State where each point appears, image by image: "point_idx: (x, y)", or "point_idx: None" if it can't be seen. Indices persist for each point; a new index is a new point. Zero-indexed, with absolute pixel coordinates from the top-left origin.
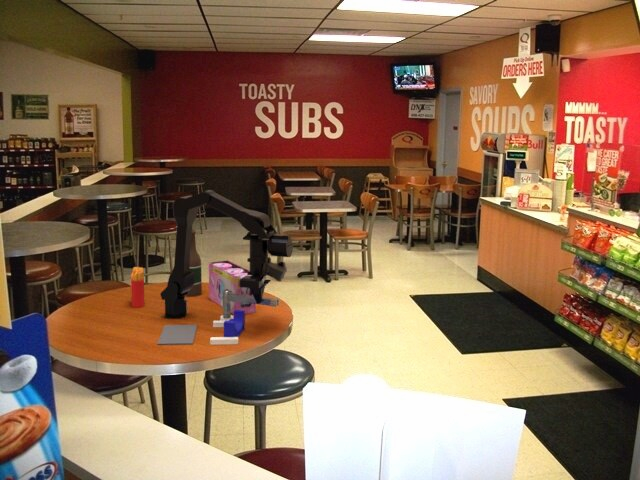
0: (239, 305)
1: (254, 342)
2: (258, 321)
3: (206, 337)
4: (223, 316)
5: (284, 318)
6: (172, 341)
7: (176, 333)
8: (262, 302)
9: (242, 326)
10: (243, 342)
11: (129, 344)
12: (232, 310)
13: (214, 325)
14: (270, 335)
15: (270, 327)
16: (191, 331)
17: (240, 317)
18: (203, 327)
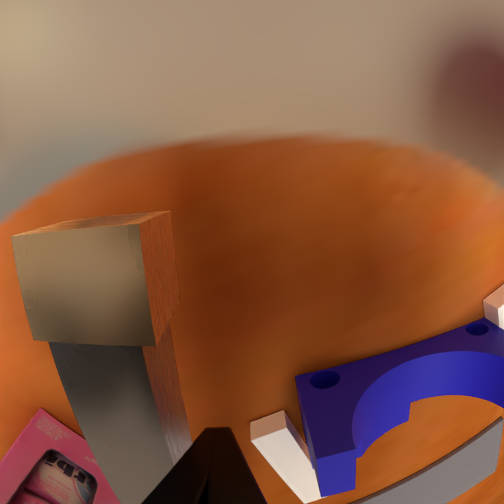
0: (104, 492)
1: (476, 220)
2: None
3: (445, 431)
4: None
5: (22, 231)
6: (486, 461)
7: (425, 498)
8: (176, 416)
9: (351, 380)
10: (484, 273)
11: (482, 498)
12: None
13: None
14: (358, 173)
15: (207, 239)
16: (405, 489)
17: (353, 432)
18: (339, 495)
